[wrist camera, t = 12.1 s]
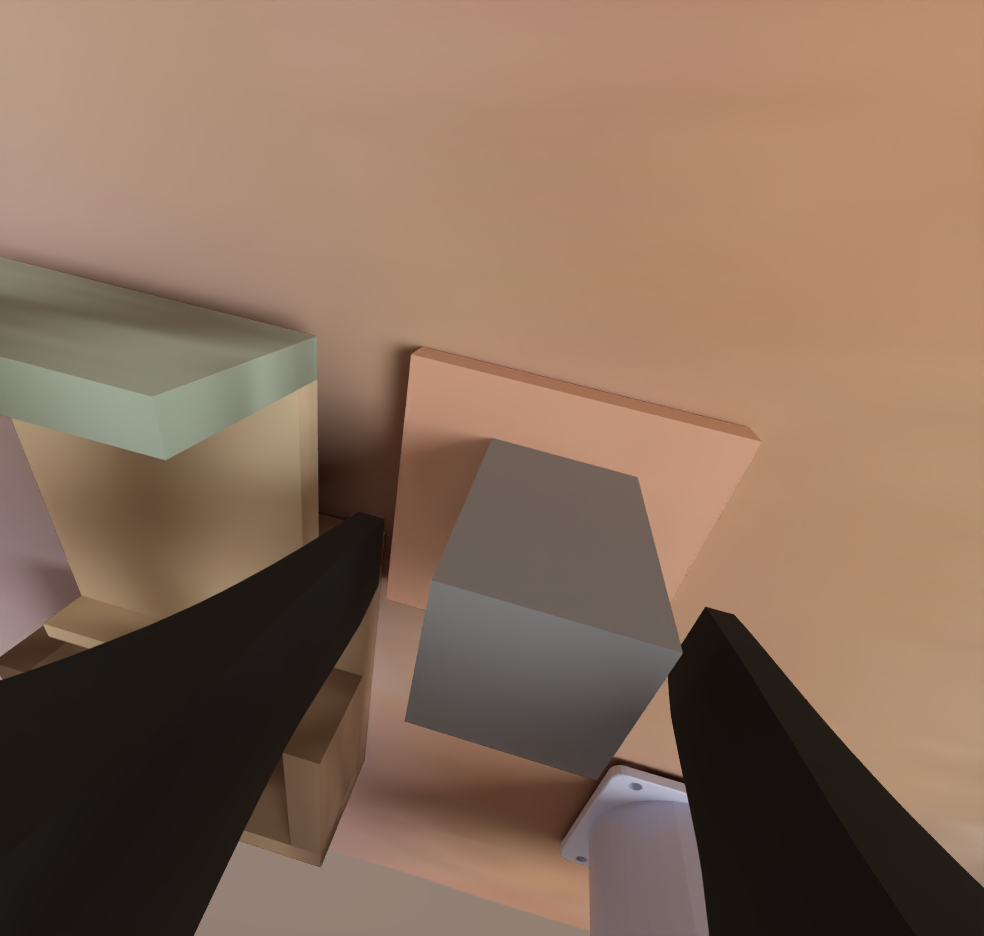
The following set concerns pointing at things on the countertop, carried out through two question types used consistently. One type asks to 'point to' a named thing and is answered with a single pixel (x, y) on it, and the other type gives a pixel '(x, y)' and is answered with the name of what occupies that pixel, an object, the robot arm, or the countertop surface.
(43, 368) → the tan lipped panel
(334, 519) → the brown tray
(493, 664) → the grey block
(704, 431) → the terracotta tile
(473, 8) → the countertop surface
